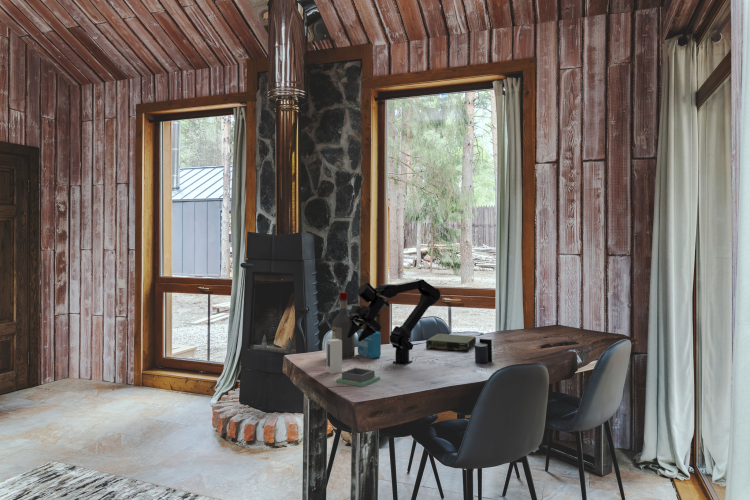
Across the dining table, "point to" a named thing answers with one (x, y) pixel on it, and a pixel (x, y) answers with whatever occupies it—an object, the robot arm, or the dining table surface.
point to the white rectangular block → (334, 356)
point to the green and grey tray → (358, 377)
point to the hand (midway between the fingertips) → (353, 339)
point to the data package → (370, 345)
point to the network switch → (451, 342)
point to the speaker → (483, 351)
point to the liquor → (343, 329)
